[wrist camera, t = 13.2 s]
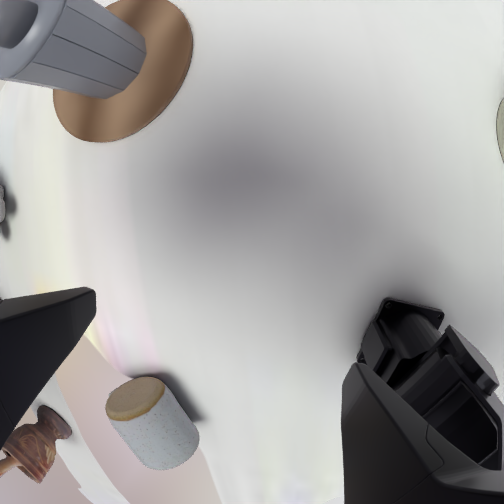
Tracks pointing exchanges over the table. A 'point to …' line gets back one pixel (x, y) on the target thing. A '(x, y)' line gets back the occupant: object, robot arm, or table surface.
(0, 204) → the chubby cartoon animal
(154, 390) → the ceramic mug
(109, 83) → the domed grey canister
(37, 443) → the mortar and pestle
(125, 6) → the cheese board
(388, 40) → the table surface
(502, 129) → the can
